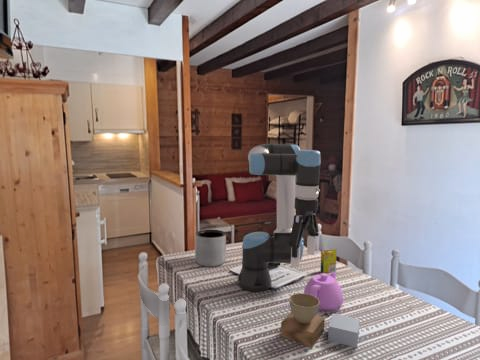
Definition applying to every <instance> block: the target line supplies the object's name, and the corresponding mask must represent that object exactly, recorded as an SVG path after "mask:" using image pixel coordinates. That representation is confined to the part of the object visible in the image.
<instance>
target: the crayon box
mask: <svg viewBox="0 0 480 360" xmlns="http://www.w3.org/2000/svg"><path fill="white" fill-rule="evenodd" d="M336 270H337V248H334V249H325V250H323V251H322V252H320V272H321V273H326V274H328V273H332V272H336V273H337V271H336Z"/></svg>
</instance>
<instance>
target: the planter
mask: <svg viewBox="0 0 480 360" xmlns="http://www.w3.org/2000/svg"><path fill="white" fill-rule="evenodd" d="M226 247H227V233H226V232H225V231H223V230H219V229H201V230H199V231H196V233H195V248H194V249H195V253H194V254H195V256H194V260H195V263H196V264H198V265H199V266H201V267H202V266H203V267H206V268H207V267H208V268H209V267H210V268H213V267H219V266H221V265H223V264H225V263H226V260H227V256H226V254H227V253H226V252H227V248H226Z"/></svg>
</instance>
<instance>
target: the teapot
mask: <svg viewBox="0 0 480 360" xmlns="http://www.w3.org/2000/svg"><path fill="white" fill-rule="evenodd" d="M336 275H337V271H336V272H335V271H334V272H330V275H329V274H328V273H323V272H321V273H320V274H316V275H313V276H312V277H311V278H310V280H309V281H308V282H307V284H306V285H305V287H304V290H303V293H305V294H310V295H313V296H315V297H316V298H318V300H319V301H320V303H319V307H318V310H319V311H326V312H329V311H335V310H337V309H338V308H340V306H342V304H343V302H344V295H343V294H344V293H343V291H342V288H341V286H340V284H339V283H338V281H337V279H336V277H337V276H336Z"/></svg>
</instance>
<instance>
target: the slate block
mask: <svg viewBox="0 0 480 360" xmlns="http://www.w3.org/2000/svg"><path fill="white" fill-rule="evenodd" d="M330 318H331V319H330V321H329V325H328V337H327V341H328V342H333V343H337V344H340V345H345V346H348V347H352V348H358V342H359V335H360V324H361V318H356V317H355V318H354V317H351V316H347V315H342V314H338V313H334V312H333V313H332V314H331V317H330Z"/></svg>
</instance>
